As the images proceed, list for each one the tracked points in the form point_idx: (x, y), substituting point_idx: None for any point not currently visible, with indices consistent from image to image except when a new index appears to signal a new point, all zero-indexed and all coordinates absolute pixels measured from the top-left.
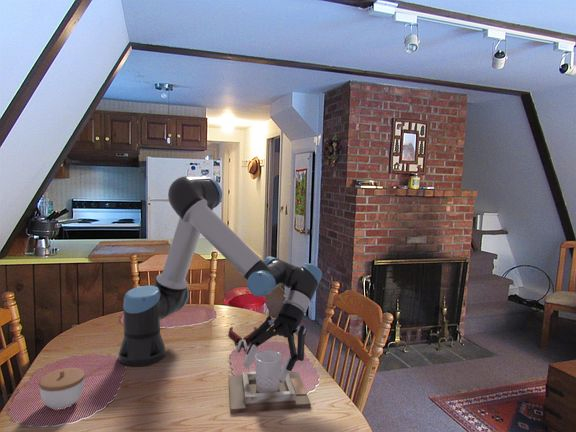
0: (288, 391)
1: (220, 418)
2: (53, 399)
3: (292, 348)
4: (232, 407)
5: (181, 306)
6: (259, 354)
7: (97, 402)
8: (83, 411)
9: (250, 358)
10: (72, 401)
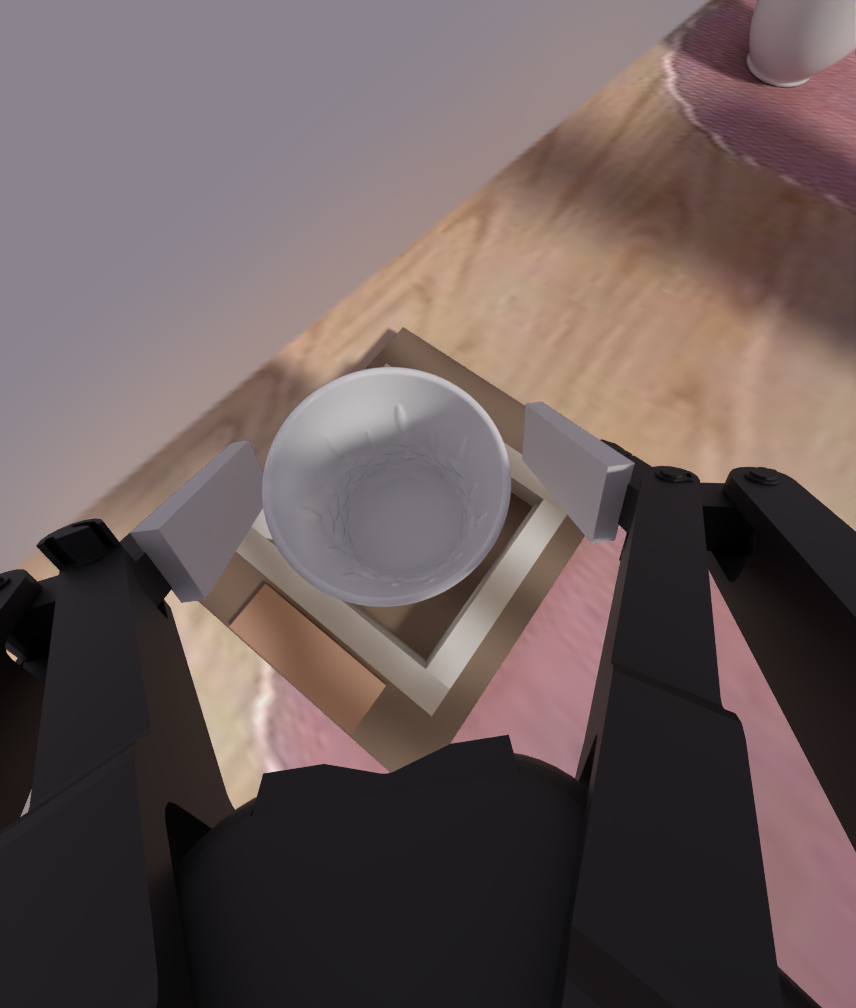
0: (266, 532)
1: (406, 303)
2: None
3: (71, 615)
4: (406, 337)
5: None
6: (497, 473)
7: (734, 117)
8: (706, 85)
9: (546, 450)
10: (757, 34)
